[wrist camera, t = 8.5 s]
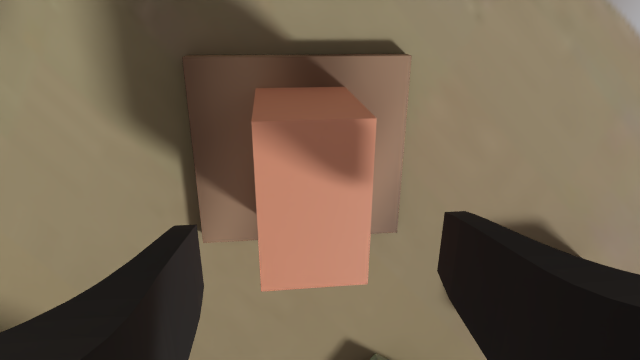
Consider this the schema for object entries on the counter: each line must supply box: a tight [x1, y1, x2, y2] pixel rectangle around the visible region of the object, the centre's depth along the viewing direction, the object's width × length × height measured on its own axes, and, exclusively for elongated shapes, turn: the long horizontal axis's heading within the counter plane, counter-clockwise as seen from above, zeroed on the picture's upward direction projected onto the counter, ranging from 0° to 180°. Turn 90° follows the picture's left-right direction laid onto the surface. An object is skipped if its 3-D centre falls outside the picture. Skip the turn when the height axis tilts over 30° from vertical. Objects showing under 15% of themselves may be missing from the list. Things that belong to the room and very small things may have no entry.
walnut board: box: [182, 54, 411, 243], centre depth 21 cm, size 10×9×1 cm
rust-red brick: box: [251, 87, 377, 291], centre depth 17 cm, size 4×6×6 cm, turn 0°
